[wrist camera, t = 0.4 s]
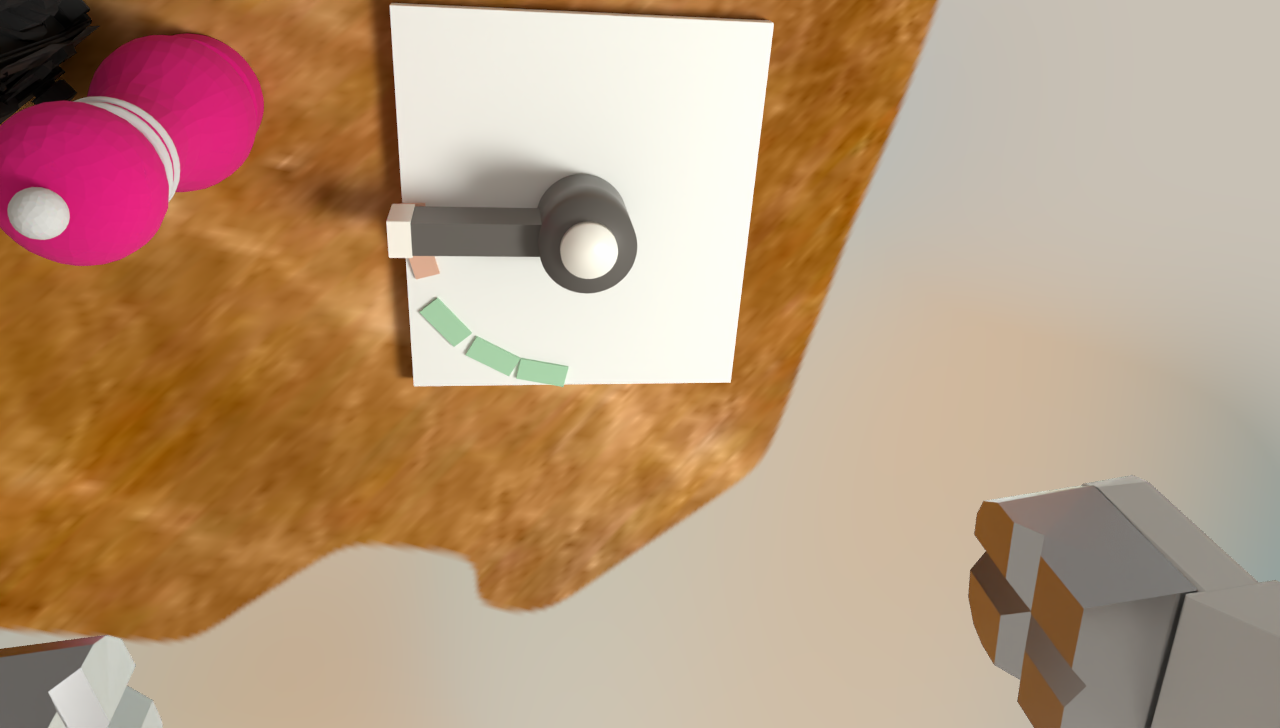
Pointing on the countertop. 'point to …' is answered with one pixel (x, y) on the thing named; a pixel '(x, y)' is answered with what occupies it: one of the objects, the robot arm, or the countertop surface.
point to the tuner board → (580, 144)
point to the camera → (38, 49)
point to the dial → (531, 233)
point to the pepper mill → (126, 147)
